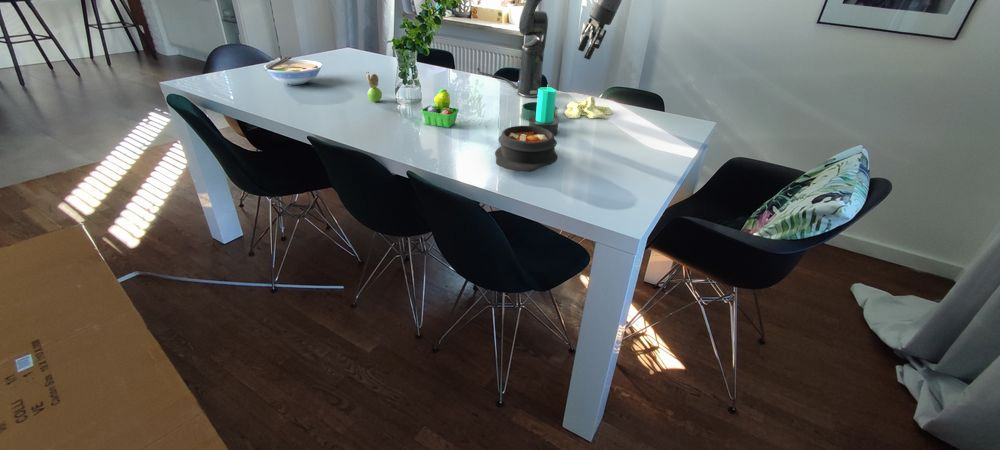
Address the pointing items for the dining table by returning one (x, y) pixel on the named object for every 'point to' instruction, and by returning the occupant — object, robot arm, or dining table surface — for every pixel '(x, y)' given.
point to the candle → (545, 104)
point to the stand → (545, 124)
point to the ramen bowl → (293, 70)
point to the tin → (533, 110)
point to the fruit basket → (440, 111)
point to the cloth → (586, 109)
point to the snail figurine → (373, 88)
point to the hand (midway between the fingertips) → (583, 54)
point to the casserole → (526, 148)
